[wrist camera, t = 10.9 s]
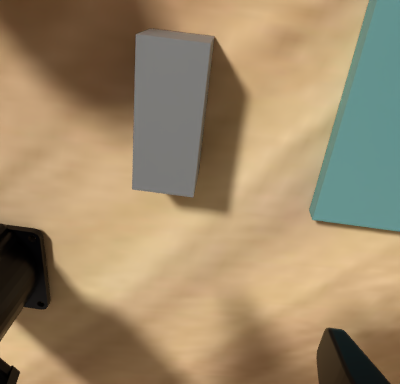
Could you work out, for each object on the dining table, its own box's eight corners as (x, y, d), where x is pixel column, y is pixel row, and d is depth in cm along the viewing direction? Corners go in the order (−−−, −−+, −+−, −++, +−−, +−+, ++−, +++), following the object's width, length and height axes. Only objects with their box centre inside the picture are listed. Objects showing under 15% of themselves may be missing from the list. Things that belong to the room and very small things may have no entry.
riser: (198, 171, 21) (193, 197, 18) (145, 164, 21) (132, 189, 18) (214, 36, 17) (210, 43, 15) (151, 28, 17) (135, 34, 15)
